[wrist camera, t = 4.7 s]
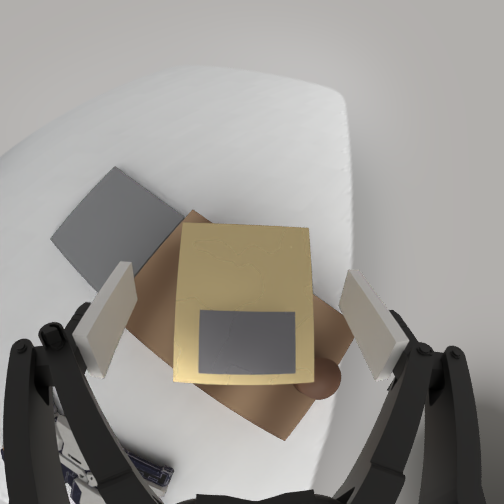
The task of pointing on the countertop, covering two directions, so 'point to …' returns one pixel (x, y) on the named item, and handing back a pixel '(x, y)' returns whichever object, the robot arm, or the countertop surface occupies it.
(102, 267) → the mat
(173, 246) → the body
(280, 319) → the labelled wooden block
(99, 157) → the countertop surface
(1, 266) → the countertop surface
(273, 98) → the countertop surface
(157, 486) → the toy gun
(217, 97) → the countertop surface
